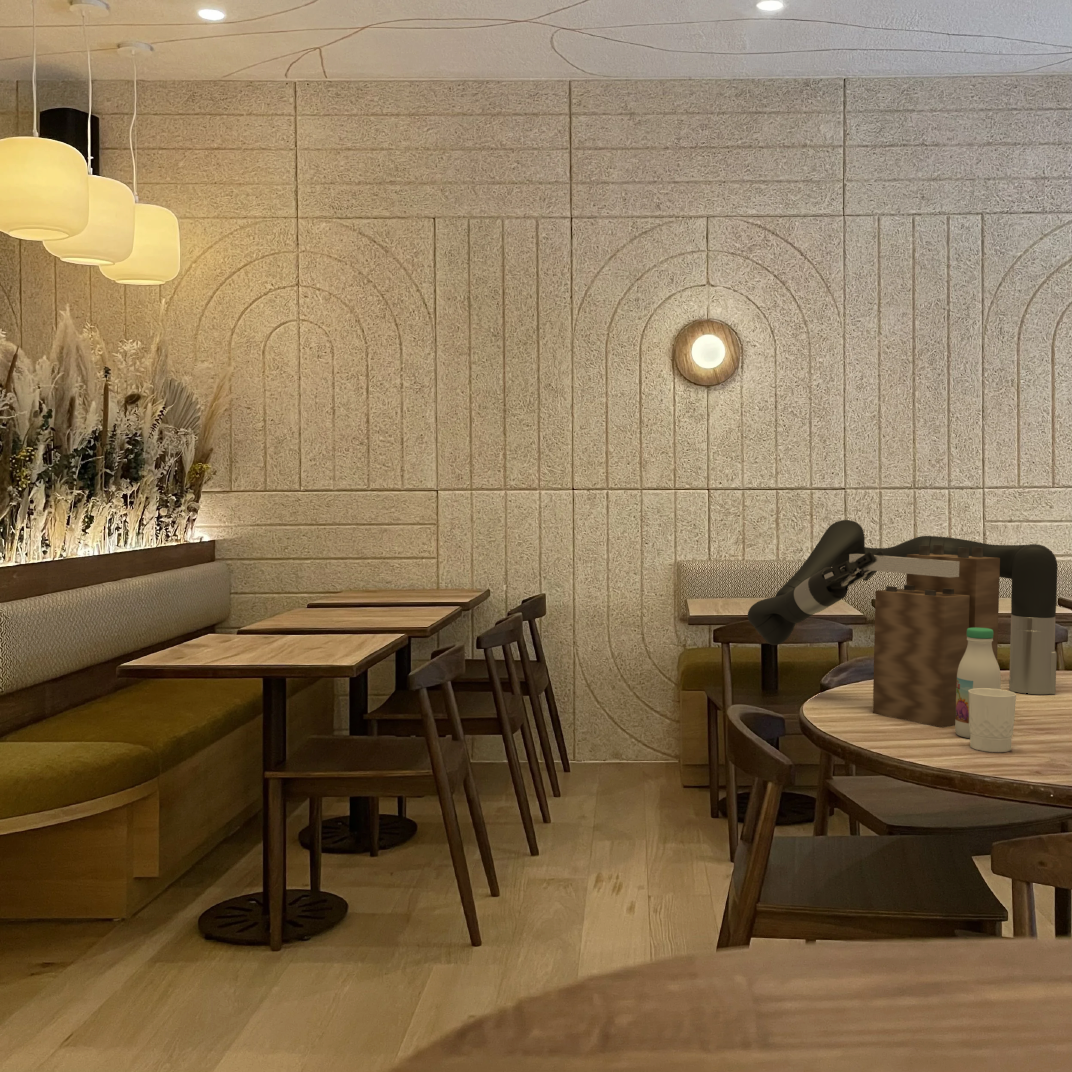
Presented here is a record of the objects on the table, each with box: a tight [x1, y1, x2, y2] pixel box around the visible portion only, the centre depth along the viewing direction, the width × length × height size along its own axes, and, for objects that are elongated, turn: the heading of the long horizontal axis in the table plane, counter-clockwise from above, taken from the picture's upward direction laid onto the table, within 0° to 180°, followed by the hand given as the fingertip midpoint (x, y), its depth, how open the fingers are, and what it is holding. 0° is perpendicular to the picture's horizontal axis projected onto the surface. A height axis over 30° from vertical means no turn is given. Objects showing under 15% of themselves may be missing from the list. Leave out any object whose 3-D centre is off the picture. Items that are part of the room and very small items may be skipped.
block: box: [849, 554, 959, 577], centre depth 230 cm, size 24×3×3 cm, turn 36°
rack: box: [872, 545, 1000, 728], centre depth 230 cm, size 16×18×34 cm
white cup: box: [968, 688, 1017, 753], centre depth 202 cm, size 8×8×10 cm
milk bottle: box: [954, 628, 1002, 739], centre depth 211 cm, size 8×8×20 cm
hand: (878, 556), depth 235 cm, fingers closed on block, 3 cm apart
